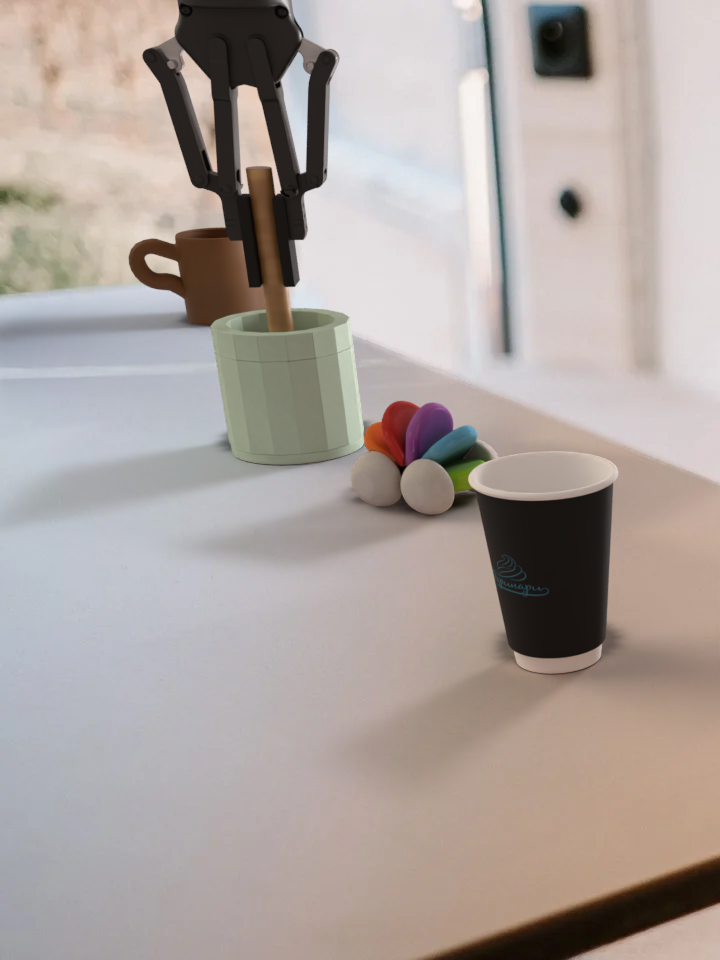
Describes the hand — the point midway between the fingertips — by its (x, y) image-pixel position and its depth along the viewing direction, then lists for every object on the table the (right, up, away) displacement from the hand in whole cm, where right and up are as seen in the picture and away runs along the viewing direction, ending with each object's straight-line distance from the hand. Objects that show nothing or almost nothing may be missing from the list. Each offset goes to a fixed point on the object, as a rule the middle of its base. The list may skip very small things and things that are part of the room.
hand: (274, 283), depth 123 cm
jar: (0, -12, +5) cm, 13 cm away
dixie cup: (+29, -28, -31) cm, 51 cm away
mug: (-25, +5, +42) cm, 49 cm away
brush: (0, -7, +3) cm, 7 cm away
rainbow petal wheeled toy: (+14, -17, -6) cm, 23 cm away
